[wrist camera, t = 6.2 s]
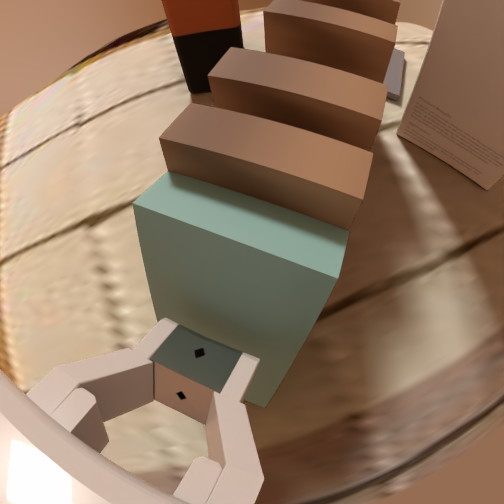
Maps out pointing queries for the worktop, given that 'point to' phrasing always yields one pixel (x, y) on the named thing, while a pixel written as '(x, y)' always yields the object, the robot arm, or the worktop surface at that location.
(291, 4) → the domino
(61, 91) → the worktop surface
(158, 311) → the domino end
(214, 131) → the domino
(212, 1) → the battery
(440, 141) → the skincare box
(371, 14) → the domino
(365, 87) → the domino
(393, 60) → the pad
